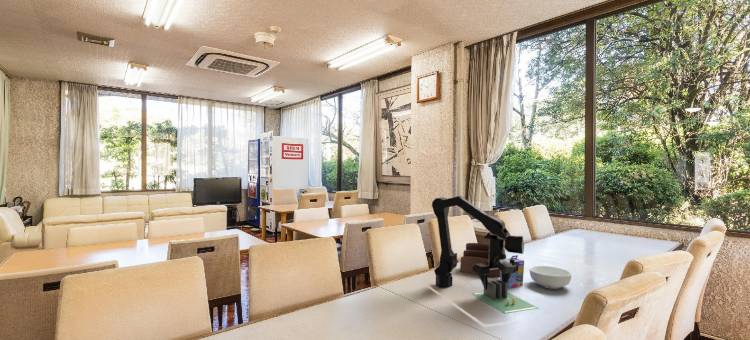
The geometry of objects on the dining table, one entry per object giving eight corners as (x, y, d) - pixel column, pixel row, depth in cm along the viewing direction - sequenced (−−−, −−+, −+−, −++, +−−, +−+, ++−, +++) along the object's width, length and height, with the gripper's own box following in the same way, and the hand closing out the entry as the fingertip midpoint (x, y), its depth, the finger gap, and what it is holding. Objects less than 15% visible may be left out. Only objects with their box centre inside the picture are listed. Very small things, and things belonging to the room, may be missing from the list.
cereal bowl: (561, 281, 166) (561, 266, 166) (578, 293, 149) (578, 277, 149) (524, 279, 168) (524, 264, 168) (536, 291, 151) (537, 275, 151)
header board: (504, 315, 126) (504, 306, 126) (471, 295, 144) (471, 287, 144) (539, 310, 131) (539, 301, 131) (502, 291, 150) (503, 284, 150)
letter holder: (465, 267, 186) (466, 240, 185) (504, 274, 175) (505, 246, 175) (459, 272, 177) (460, 244, 177) (500, 279, 167) (501, 250, 167)
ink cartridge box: (508, 290, 151) (509, 257, 151) (498, 286, 156) (499, 254, 156) (524, 287, 156) (524, 255, 156) (513, 283, 161) (514, 252, 161)
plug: (493, 299, 138) (494, 284, 138) (483, 294, 144) (484, 279, 144) (507, 298, 140) (507, 283, 140) (496, 292, 147) (496, 278, 146)
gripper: (489, 256, 131) (488, 298, 132) (529, 253, 138) (528, 292, 138) (472, 249, 142) (471, 288, 142) (509, 247, 148) (508, 283, 148)
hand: (495, 288), depth 142 cm, fingers open, 9 cm apart
